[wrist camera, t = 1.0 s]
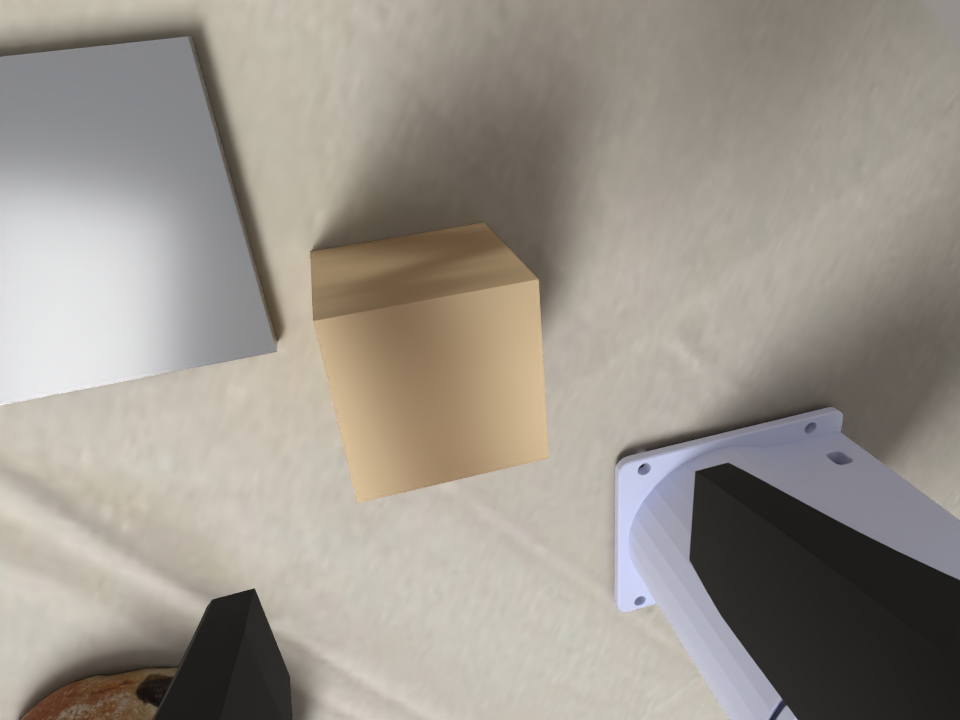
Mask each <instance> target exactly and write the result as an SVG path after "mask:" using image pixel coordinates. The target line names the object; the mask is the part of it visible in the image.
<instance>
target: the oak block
mask: <svg viewBox="0 0 960 720" xmlns="http://www.w3.org/2000/svg"><path fill="white" fill-rule="evenodd" d="M310 258H311V282H312V306H313V323H314V327H315V331H316V335H317V339H318V343H319V347H320V351H321V355H322V359H323V364H324V368H325V372H326V376H327V380H328V384H329V388H330V392H331V396H332V401H333V405H334V409H335V413H336V417H337V421H338V425H339V429H340V433H341V437H342V442H343V446H344V450H345V454H346V458H347V462H348V466H349V470H350V474H351V478H352V483H353V487H354V491H355V495H356V499H357V503H360V502H365V501H369V500H373V499H377V498H382V497H386V496H390V495H394V494H399V493H403V492H407V491H411V490H416V489H420V488H424V487H428V486H432V485H437V484H441V483H445V482H449V481H454V480H458V479H462V478H466V477H471V476H475V475H479V474H483V473H488V472H492V471H496V470H500V469H505V468H509V467H513V466H517V465H522V464H526V463H530V462H534V461H538V460H543V459H547V458H549V456H548V438H547V420H546V401H545V383H544V365H543V347H542V329H541V311H540V293H539V279H538V278H537V277H536V276H535V275H534V274H533V273H532V272H531V271H530V270H529V269H528V267H527V266H526V265H525V264H524V263H523V262H522V261H521V260H520V259H519V258H518V257H517V256H516V255H515V254H514V253H513V252H512V251H511V250H510V249H509V248H508V247H507V246H506V245H505V243H504V242H503V241H502V240H501V239H500V238H499V237H498V236H497V235H496V234H495V233H494V232H493V231H492V230H491V229H490V228H489V227H488V226H487V225H486V224H485V223H484V222H483V223H477V224H471V225H465V226H459V227H453V228H447V229H441V230H436V231H430V232H424V233H418V234H412V235H406V236H400V237H394V238H388V239H382V240H376V241H370V242H364V243H358V244H352V245H346V246H340V247H334V248H328V249H322V250H316V251H310Z"/></svg>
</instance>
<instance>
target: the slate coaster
mask: <svg viewBox="0 0 960 720" xmlns="http://www.w3.org/2000/svg"><path fill="white" fill-rule="evenodd" d="M273 352H277V340H276V337H275V333H274V329H273V326H272V322H271V319H270V315H269V311H268V308H267V304H266V301H265V297H264V294H263V290H262V286H261V283H260V279H259V276H258V272H257V268H256V265H255V261H254V258H253V254H252V251H251V247H250V243H249V240H248V236H247V233H246V229H245V225H244V222H243V218H242V215H241V211H240V207H239V204H238V200H237V197H236V193H235V190H234V186H233V182H232V179H231V175H230V172H229V168H228V164H227V161H226V157H225V154H224V150H223V147H222V143H221V139H220V136H219V132H218V129H217V125H216V121H215V118H214V114H213V111H212V107H211V104H210V100H209V96H208V93H207V89H206V86H205V82H204V78H203V75H202V71H201V68H200V64H199V61H198V57H197V53H196V50H195V46H194V43H193V39H192V36H187V37H178V38H168V39H159V40H150V41H141V42H131V43H122V44H113V45H104V46H94V47H85V48H76V49H67V50H57V51H48V52H39V53H30V54H21V55H11V56H2V57H0V405H4V404H9V403H14V402H20V401H25V400H30V399H35V398H40V397H46V396H51V395H56V394H61V393H66V392H71V391H77V390H82V389H87V388H92V387H97V386H102V385H108V384H113V383H118V382H123V381H128V380H134V379H139V378H144V377H149V376H154V375H159V374H165V373H170V372H175V371H180V370H185V369H190V368H196V367H201V366H206V365H211V364H216V363H222V362H227V361H232V360H237V359H242V358H247V357H253V356H258V355H263V354H268V353H273Z"/></svg>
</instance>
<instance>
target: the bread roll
mask: <svg viewBox="0 0 960 720" xmlns="http://www.w3.org/2000/svg"><path fill="white" fill-rule="evenodd" d="M177 669H178V667H173V668H147V669H141V670H136V671H131V672H126V673H121V674H116V675H111V676H106V675H95V676H92V677H88V678H85V679H82V680H79V681H76V682H73V683H70V684H67V685H65V686H63V687H61V688H59V689H58V690H56V691H54V692H53V693H51V694H50V695H48V696H47V697H45V698H44V699H43V700H42V701H41V702H39V703H38V704H37V705H36V706H35V707H33V708H32V709H31V710H30V711H28V712H27V714H26V715H25V716H24V717H23V718H22V719H21V720H152V718H153V716H154V715H155V713H156V711H157V709H158V707H159V705H160V703H161V701H162V699H163V697H164V696H165V694H166V692H167V690H168V687H169V685H170V683H171V681H172V679H173V677H174V675H175V673H176V671H177Z"/></svg>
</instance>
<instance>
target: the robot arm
mask: <svg viewBox="0 0 960 720" xmlns="http://www.w3.org/2000/svg"><path fill="white" fill-rule="evenodd" d="M842 423H843V414H842V412H840V411H839V410H837V409H836V408H834V407H828V408H824V409H820V410H815V411H811V412H807V413H803V414H799V415H795V416H791V417H787V418H782V419H778V420H774V421H770V422H766V423H762V424H758V425H754V426H750V427H745V428H741V429H737V430H733V431H729V432H725V433H721V434H717V435H712V436H708V437H704V438H700V439H696V440H692V441H688V442H684V443H679V444H675V445H671V446H667V447H663V448H659V449H655V450H651V451H647V452H642V453H638V454H634V455H630V456H627V457H624V458H622V459H621V460H620V461H619V462H618V463H617V465H616V468H615V593H614V601H615V604H616V606H617V608H618V609H619V610H620V611H622V612H629V611H632V610H636V609H639V608H643V607H646V606H650V605H653V604H657V605H658V606H659V608H660V609H661V611H662V613H663V614H664V616H665V617H666V619H667V621H668V622H669V624H670V625H671V627H672V629H673V630H674V632H675V633H676V635H677V637H678V638H679V640H680V641H681V643H682V645H683V646H684V648H685V649H686V651H687V653H688V654H689V656H690V657H691V659H692V661H693V662H694V664H695V665H696V667H697V669H698V670H699V672H700V673H701V675H702V677H703V678H704V680H705V681H706V683H707V685H708V686H709V688H710V689H711V691H712V693H713V694H714V696H715V697H716V699H717V701H718V702H719V704H720V705H721V707H722V709H723V710H724V712H725V713H726V715H727V717H728V718H729V720H960V520H959V519H957V518H956V517H955V516H953V515H952V514H951V513H949V512H948V511H947V510H945V509H944V508H943V507H941V506H940V505H938V504H937V503H936V502H934V501H933V500H932V499H930V498H929V497H928V496H926V495H925V494H924V493H922V492H921V491H920V490H918V489H917V488H915V487H914V486H913V485H911V484H910V483H909V482H907V481H906V480H905V479H903V478H902V477H901V476H899V475H898V474H897V473H895V472H894V471H892V470H891V469H890V468H888V467H887V466H886V465H884V464H883V463H882V462H880V461H879V460H878V459H876V458H875V457H874V456H872V455H871V454H870V453H868V452H867V451H865V450H864V449H863V448H861V447H860V446H859V445H857V444H856V443H855V442H853V441H852V440H851V439H849V438H848V437H847V436H845V435H844V434H842V433H841V428H842ZM644 463H645V465H644V466H643V467H642V468H640V469H638V468H639V467H640V466H641V465H642V464H644ZM152 720H292V706H291V690H290V676H289V673H288V671H287V668H286V666H285V663H284V661H283V658H282V656H281V653H280V651H279V648H278V646H277V643H276V641H275V638H274V636H273V633H272V631H271V628H270V626H269V623H268V621H267V618H266V616H265V613H264V611H263V608H262V606H261V603H260V601H259V598H258V596H257V593H256V591H255V588H254V589H250V590H247V591H243V592H239V593H235V594H232V595H228V596H224V597H220V598H217V599H213V600H212V601H211V602H210V604H209V605H208V606H207V608H206V610H205V612H204V614H203V617H202V619H201V621H200V623H199V625H198V627H197V630H196V632H195V634H194V636H193V638H192V640H191V642H190V644H189V647H188V649H187V651H186V653H185V655H184V657H183V659H182V661H181V663H180V665H179V667H178V669H177V671H176V673H175V675H174V677H173V679H172V681H171V683H170V685H169V687H168V690H167V692H166V694H165V696H164V697H163V699H162V701H161V703H160V705H159V707H158V709H157V711H156V713H155V715H154V716H153V718H152Z"/></svg>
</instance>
